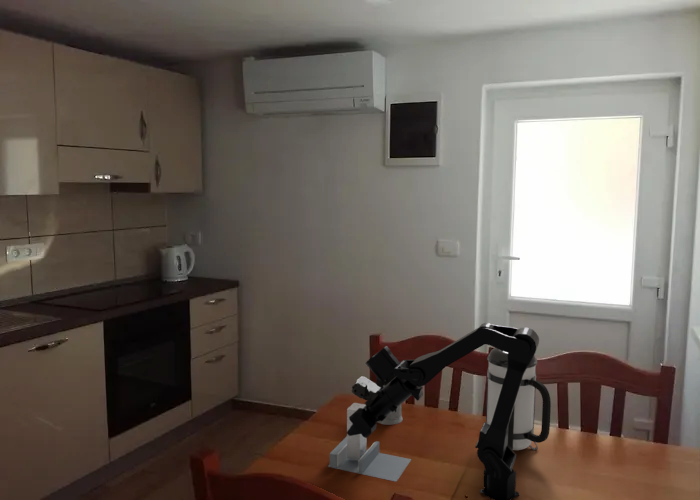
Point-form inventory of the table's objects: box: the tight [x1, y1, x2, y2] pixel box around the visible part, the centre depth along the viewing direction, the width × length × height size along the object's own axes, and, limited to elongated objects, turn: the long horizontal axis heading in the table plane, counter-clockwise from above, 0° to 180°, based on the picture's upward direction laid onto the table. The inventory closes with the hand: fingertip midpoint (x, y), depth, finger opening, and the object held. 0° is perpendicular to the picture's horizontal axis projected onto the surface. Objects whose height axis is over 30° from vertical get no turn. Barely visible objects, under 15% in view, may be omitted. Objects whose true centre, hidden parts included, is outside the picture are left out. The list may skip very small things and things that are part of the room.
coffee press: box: [485, 347, 552, 452], centre depth 154 cm, size 17×16×30 cm
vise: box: [327, 436, 412, 483], centre depth 145 cm, size 18×12×4 cm, turn 67°
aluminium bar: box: [346, 402, 368, 461], centre depth 145 cm, size 4×4×13 cm
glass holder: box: [375, 374, 403, 426], centre depth 171 cm, size 9×14×15 cm, turn 4°
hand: (351, 430), depth 146 cm, fingers closed on aluminium bar, 4 cm apart
